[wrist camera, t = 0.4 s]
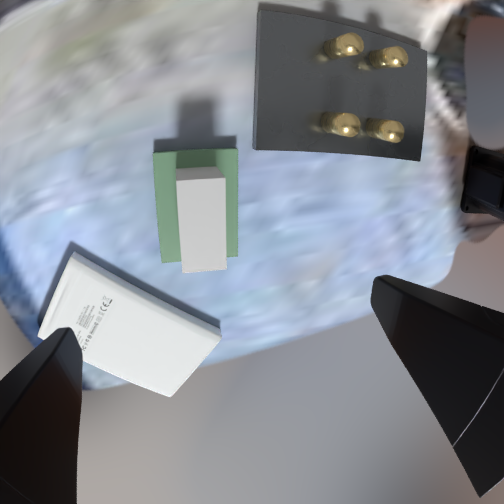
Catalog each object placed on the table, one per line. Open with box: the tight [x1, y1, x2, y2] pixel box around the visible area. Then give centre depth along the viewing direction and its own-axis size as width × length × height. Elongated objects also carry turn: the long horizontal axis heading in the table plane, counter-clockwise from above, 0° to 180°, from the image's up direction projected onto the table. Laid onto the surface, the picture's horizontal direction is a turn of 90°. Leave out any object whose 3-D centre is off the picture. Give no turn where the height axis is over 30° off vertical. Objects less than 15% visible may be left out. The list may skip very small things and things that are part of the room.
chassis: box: [253, 10, 427, 161], centre depth 17 cm, size 13×9×3 cm
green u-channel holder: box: [153, 148, 238, 273], centre depth 18 cm, size 5×7×4 cm
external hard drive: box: [38, 251, 222, 397], centre depth 22 cm, size 2×8×12 cm
